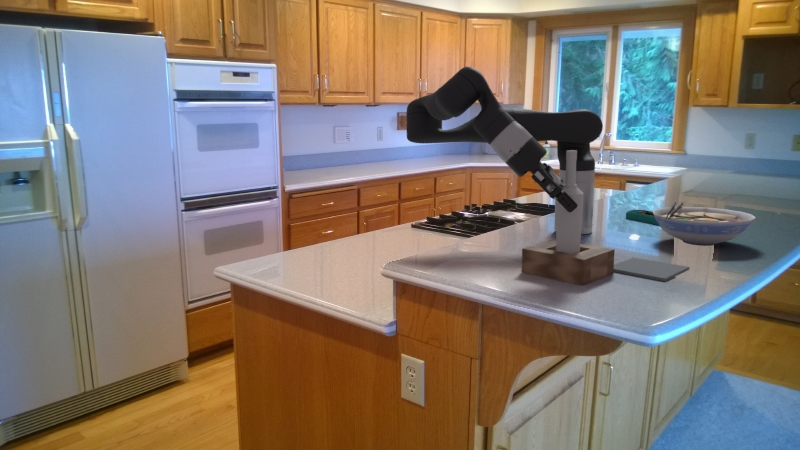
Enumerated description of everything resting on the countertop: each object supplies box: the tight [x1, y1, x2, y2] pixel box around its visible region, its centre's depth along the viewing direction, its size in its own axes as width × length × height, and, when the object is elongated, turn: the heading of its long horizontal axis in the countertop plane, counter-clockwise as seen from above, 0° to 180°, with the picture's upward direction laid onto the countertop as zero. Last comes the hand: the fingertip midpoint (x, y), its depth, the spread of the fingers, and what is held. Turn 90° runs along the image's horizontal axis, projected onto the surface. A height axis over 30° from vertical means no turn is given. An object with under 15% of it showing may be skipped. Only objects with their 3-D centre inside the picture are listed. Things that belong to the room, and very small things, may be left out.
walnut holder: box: [521, 239, 615, 286], centre depth 119 cm, size 14×12×5 cm
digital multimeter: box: [625, 209, 659, 226], centre depth 175 cm, size 7×15×3 cm, turn 21°
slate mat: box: [613, 257, 690, 282], centre depth 121 cm, size 12×12×1 cm
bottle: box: [555, 150, 584, 254], centre depth 117 cm, size 5×5×25 cm
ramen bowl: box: [652, 201, 757, 247], centre depth 144 cm, size 25×23×8 cm
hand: (574, 206), depth 117 cm, fingers open, 8 cm apart
